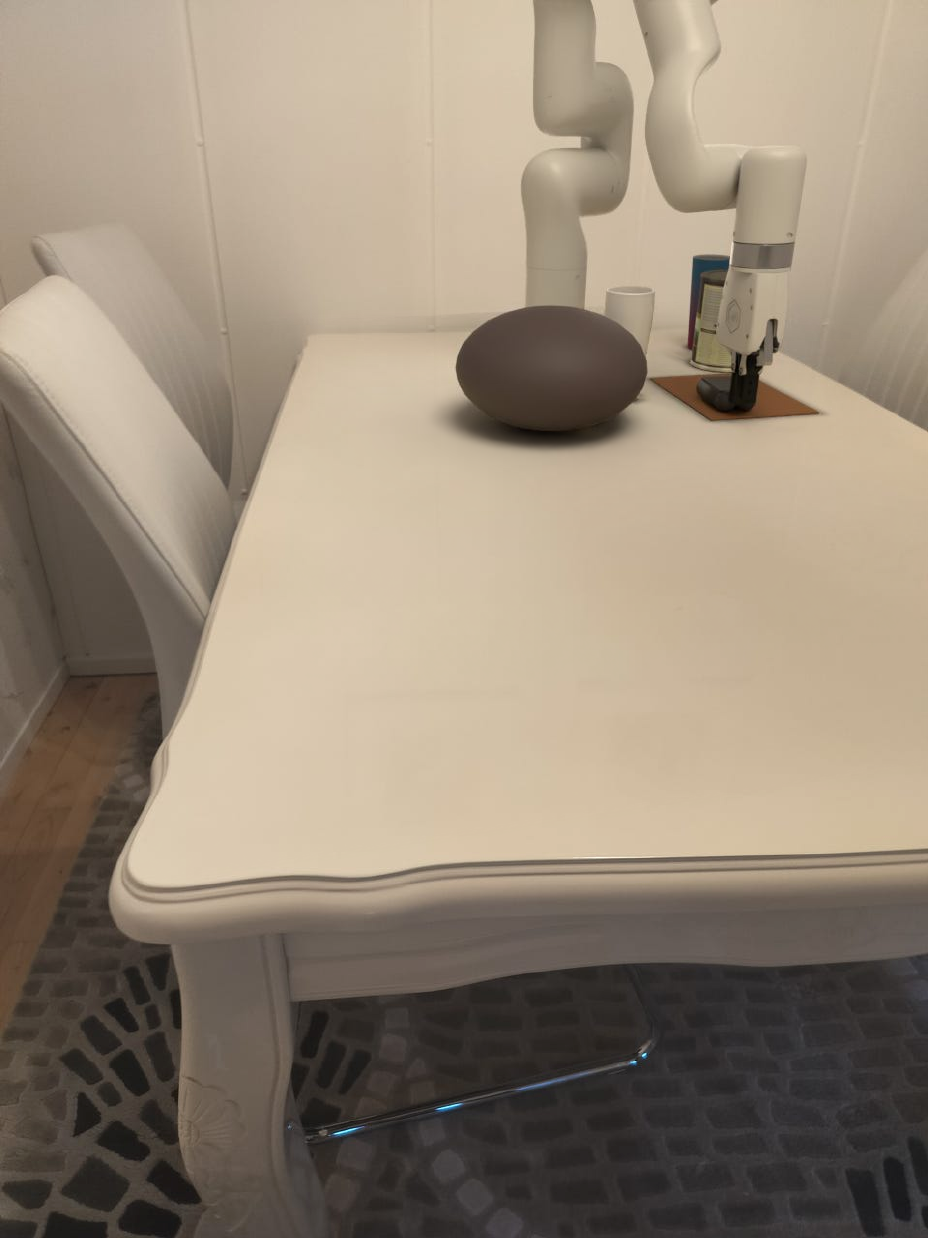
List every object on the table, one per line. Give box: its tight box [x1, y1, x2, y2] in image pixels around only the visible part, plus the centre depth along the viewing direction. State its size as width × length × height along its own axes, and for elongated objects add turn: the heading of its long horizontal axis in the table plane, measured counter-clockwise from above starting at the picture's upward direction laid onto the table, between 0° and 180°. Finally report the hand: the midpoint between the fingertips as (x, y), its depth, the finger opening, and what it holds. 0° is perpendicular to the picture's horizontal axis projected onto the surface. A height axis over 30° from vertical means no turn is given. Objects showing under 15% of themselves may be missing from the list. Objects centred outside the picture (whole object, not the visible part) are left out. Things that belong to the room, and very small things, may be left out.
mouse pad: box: [649, 372, 819, 421], centre depth 130 cm, size 16×22×1 cm
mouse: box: [696, 376, 757, 412], centre depth 125 cm, size 6×10×3 cm, turn 8°
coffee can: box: [690, 270, 732, 373], centre depth 143 cm, size 10×10×14 cm
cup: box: [686, 253, 730, 351], centre depth 153 cm, size 7×7×15 cm
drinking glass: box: [603, 285, 656, 401], centre depth 126 cm, size 7×7×15 cm
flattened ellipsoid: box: [455, 305, 648, 432], centre depth 115 cm, size 25×25×15 cm
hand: (741, 402), depth 120 cm, fingers closed
